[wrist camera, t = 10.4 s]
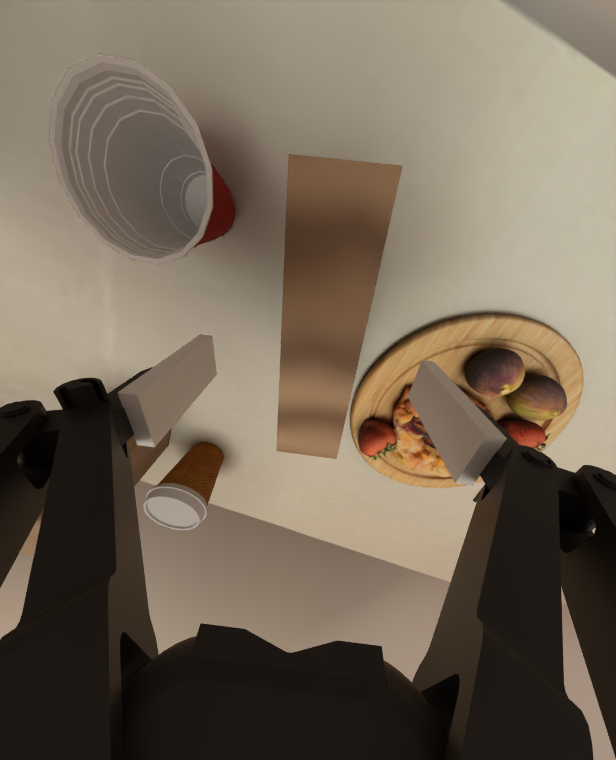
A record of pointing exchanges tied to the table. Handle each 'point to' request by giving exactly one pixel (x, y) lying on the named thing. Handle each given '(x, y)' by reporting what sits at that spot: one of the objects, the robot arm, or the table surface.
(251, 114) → the table surface
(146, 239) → the plastic cup
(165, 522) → the disposable coffee cup
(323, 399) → the walnut beam
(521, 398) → the wooden plate with food
